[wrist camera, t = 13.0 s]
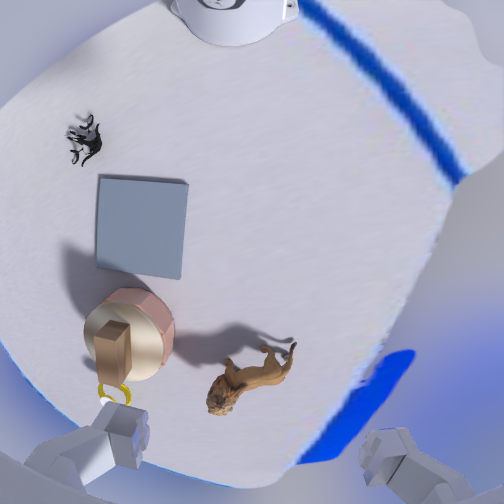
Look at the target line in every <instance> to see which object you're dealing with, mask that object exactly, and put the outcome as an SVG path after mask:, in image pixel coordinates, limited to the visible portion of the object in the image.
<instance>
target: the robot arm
mask: <svg viewBox="0 0 504 504" xmlns="http://www.w3.org/2000/svg"><path fill="white" fill-rule="evenodd" d="M288 5H290V6H292V7H288ZM170 7H171V11H172V12H173V13H174V14H175V15H176V16H178V17H180V18H182V19H183V20H184V21H185V22H186V24H187V26H188V27H189V29H190V30H191V31H192V32H193V33H194V34H195V35H196V36H197V37H198V38H200V39H202V40H204V41H206V42H208V43H211V44H215V45H220V46H241V45H246V44H250V43H253V42H256V41H258V40H260V39H262V38H264V37H266V36H267V35H269V34H270V33H271V32H272V31H273V30H275V29H276V28H277V27H278V26H279V25H281V24H283V23H286V22H289V21H292V20H294V19H296V18H297V17H298V15H299V9H298V3H297V0H173V1H172V3H171V6H170ZM147 421H148V412H147V411H146V410H142V409H138V408H134V407H131V406H127V405H123V404H119V403H116V402H112V401H108V402H106V403H105V405H104V406H103V408H102V409H101V411H100V412H99V414H98V416H97V417H96V419H95V420H94V422H93V423H92V425H91V426H84V427H82V428H79V429H77V430H74V431H72V432H69V433H67V434H64V435H62V436H59V437H56V438H54V439H52V440H48V441H46V442H43V443H41V444H38V445H37V447H36V448H35V449H34V451H33V452H32V453H31V455H30V456H29V457H28V459H27V460H26V461H25V463H24V464H22V463H20V462H18V461H16V460H15V459H13V458H11V457H9V456H8V455H6V454H4V453H3V452H1V451H0V504H117V503H114V502H111V501H108V500H105V499H102V498H99V497H96V496H94V495H91V494H88V493H87V492H86V490H85V488H84V485H86V484H87V483H89V482H91V481H92V480H94V479H95V478H97V477H99V476H100V475H102V474H103V473H105V472H106V471H108V470H109V469H111V468H113V467H114V466H115V464H117V465H121V466H124V467H128V468H132V469H136V470H138V468H139V465H140V463H141V460H142V458H143V457H142V451H144V450H146V448H147V445H148V441H149V433H150V430H149V426H148V425H147V424H146V423H147ZM366 439H367V442H365V443H364V444H363V445H362V447H361V449H360V451H359V463H360V467H362V468H363V469H364V470H366V471H365V472H364V474H363V476H364V479H365V482H366V485H367V487H372V486H382V485H387V487H388V488H389V489H391V490H392V491H393V492H394V493H395V494H396V495H397V496H398V497H400V498H401V499H402V500H403V501H404V502H405V503H407V504H504V484H502V485H499V486H497V487H495V488H492V489H490V490H487V491H485V492H482V493H480V494H477V495H475V493H474V491H473V489H472V488H471V486H470V484H469V483H468V481H467V479H466V477H465V476H463V475H462V474H460V473H458V472H456V471H455V470H453V469H451V468H449V467H448V466H446V465H444V464H442V463H441V462H439V461H437V460H435V459H434V458H432V457H430V456H429V455H427V454H425V453H420V451H419V449H418V447H417V445H416V444H415V442H414V440H413V438H412V436H411V434H410V433H409V431H408V429H407V428H406V427H399V428H390V429H379V430H370V431H369V432H368V434H367V436H366Z"/></svg>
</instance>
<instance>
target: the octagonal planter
mask: <svg viewBox="0 0 504 504" xmlns="http://www.w3.org/2000/svg"><path fill="white" fill-rule="evenodd" d="M110 301H121V302H126V303H129V304H132V305H134V306H136V307H138V308H139V309H141V310H142V311H144V312H145V313H146V314H147V315H148V316H149V317H150V318H151V319H152V320H153V321H154V322H155V324H156V325H157V327H158V328H159V330H160V332H161V335H162V338H163V341H164V349H165V351H164V358H163V361H162V363H161V365H160V367H159V368H158V369H160V368H161V367H163V366H164V365H165V364H166V362H167V360H168V358H169V356H170V354H171V352H172V350H173V340H174V336H175V324H174V318H173V317H172V315H171V312H170V311H169V309H168V307H167V306H166V305H165V303H164V302H163V301H162V300H161V299H160V298H158V297H157V296H156V295H154V294H153V293H151V292H149V291H147V290H144V289H140V288H133V287H132V288H121V287H120V288H119V289H118V290H116V291H115V292H114V293H113V294H111V295H110V296H109V297H108V298H106V299H105V300H104V301H103V302H102V303H101V304H103V303H106V302H110ZM101 304H100V305H101ZM87 317H88V316H87ZM87 317H86V319H87Z"/></svg>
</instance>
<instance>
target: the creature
mask: <svg viewBox="0 0 504 504" xmlns="http://www.w3.org/2000/svg"><path fill="white" fill-rule="evenodd" d="M90 116H92V121H91V123H89V124H88V126H87V127H83V126H79V127H80V128H81V129H84V130H87V129H88V134H89V133H90V132H91V131H89V127H90V126H91V125H92V124H93V118H94V117H93V115H90ZM90 116H89V117H90ZM89 117H88V118H89ZM98 126H99V124H97V126H96V129H95V133H96V138H94V139H93V140H92V141H86V140H84V139H86V136H84V135H77V136H79V137H80V138H74V139H77V140H78V141H75V140H73V137H72V138H70V136H68V137H67V138H68V139H70V140H73V141H75V142H77V143H79V144H80V145H83V144H85V145H87V146H88V147H89V148H90V153H88V154H90V155H88V156H87V157H86V158H85V159H84V160H83V162H82V165H81V166H82V167H83V164H84V163H85V161H86V160H87V159H89V158H90V157H92V156H93V155H94V154H96V153H97V152H99V151H100V149H101V146H102V141H101V138H100V134H99V132H98ZM70 133H72V134H73V135H76V134H75V132H73V131H70ZM65 136H66V135H65ZM81 150H83V148H82V149H81ZM81 150H80V151H81ZM70 151H71V152H73V153H76V154H75V155H76V158H77V159H76V161H75V163H73V161H72V163H73V164H76V162H77V161H78V160H79V152H80V151H79V152H78V151H75V150H70ZM92 151H93V152H92ZM91 152H92V153H91Z"/></svg>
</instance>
